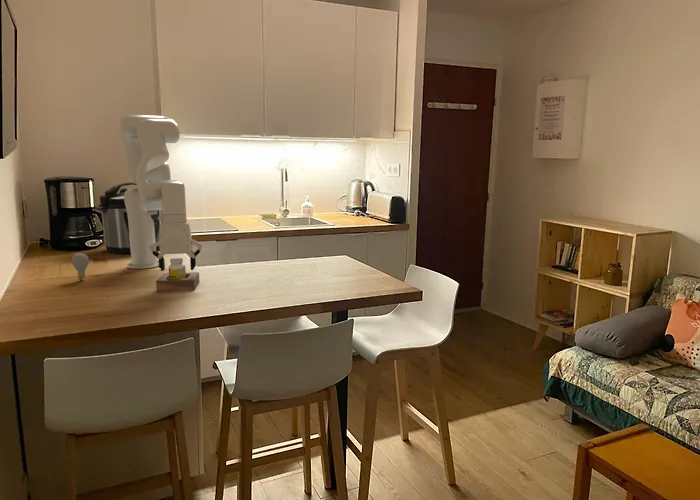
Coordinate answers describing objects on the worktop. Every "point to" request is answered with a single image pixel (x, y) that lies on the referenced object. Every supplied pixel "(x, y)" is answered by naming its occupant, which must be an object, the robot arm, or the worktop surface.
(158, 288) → the socket block
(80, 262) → the light bulb
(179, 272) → the supplement bottle
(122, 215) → the pressure cooker
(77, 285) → the worktop surface
